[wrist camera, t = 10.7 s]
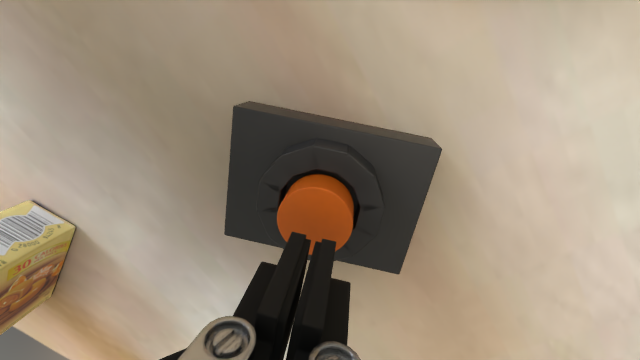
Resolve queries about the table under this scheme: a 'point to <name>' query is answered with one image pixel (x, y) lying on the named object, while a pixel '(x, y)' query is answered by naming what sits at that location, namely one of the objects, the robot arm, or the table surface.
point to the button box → (333, 160)
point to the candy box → (29, 258)
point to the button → (317, 210)
